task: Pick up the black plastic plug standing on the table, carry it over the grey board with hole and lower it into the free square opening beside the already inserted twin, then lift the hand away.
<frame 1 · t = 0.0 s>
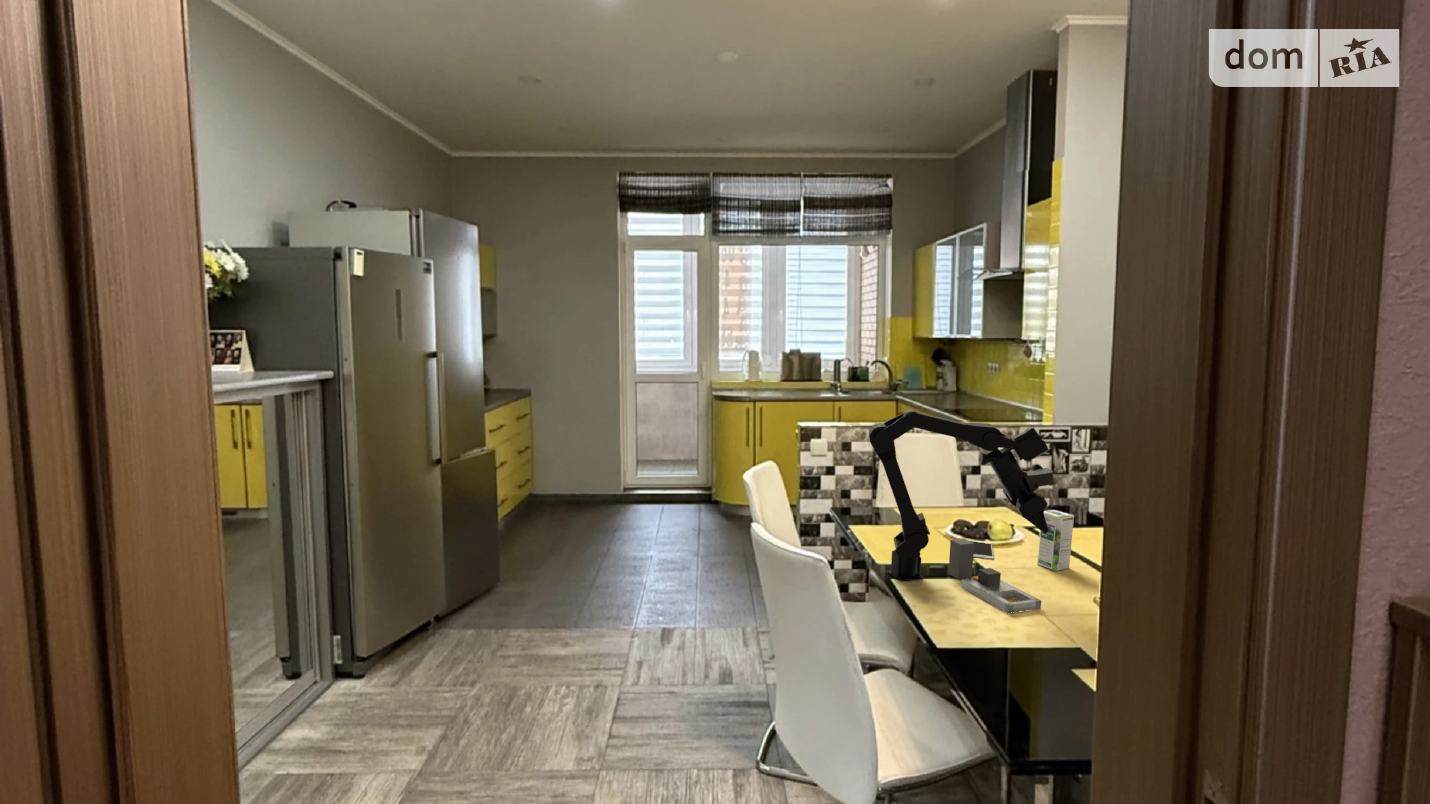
hand: (1041, 526, 177), 15 cm above the table, tool tilted 35°, fingers open, 9 cm apart
plug: (960, 576, 184), on the table
grey board with hole: (999, 597, 171), on the table
syrup box: (1053, 567, 193), on the table
smartphone: (978, 551, 205), on the table
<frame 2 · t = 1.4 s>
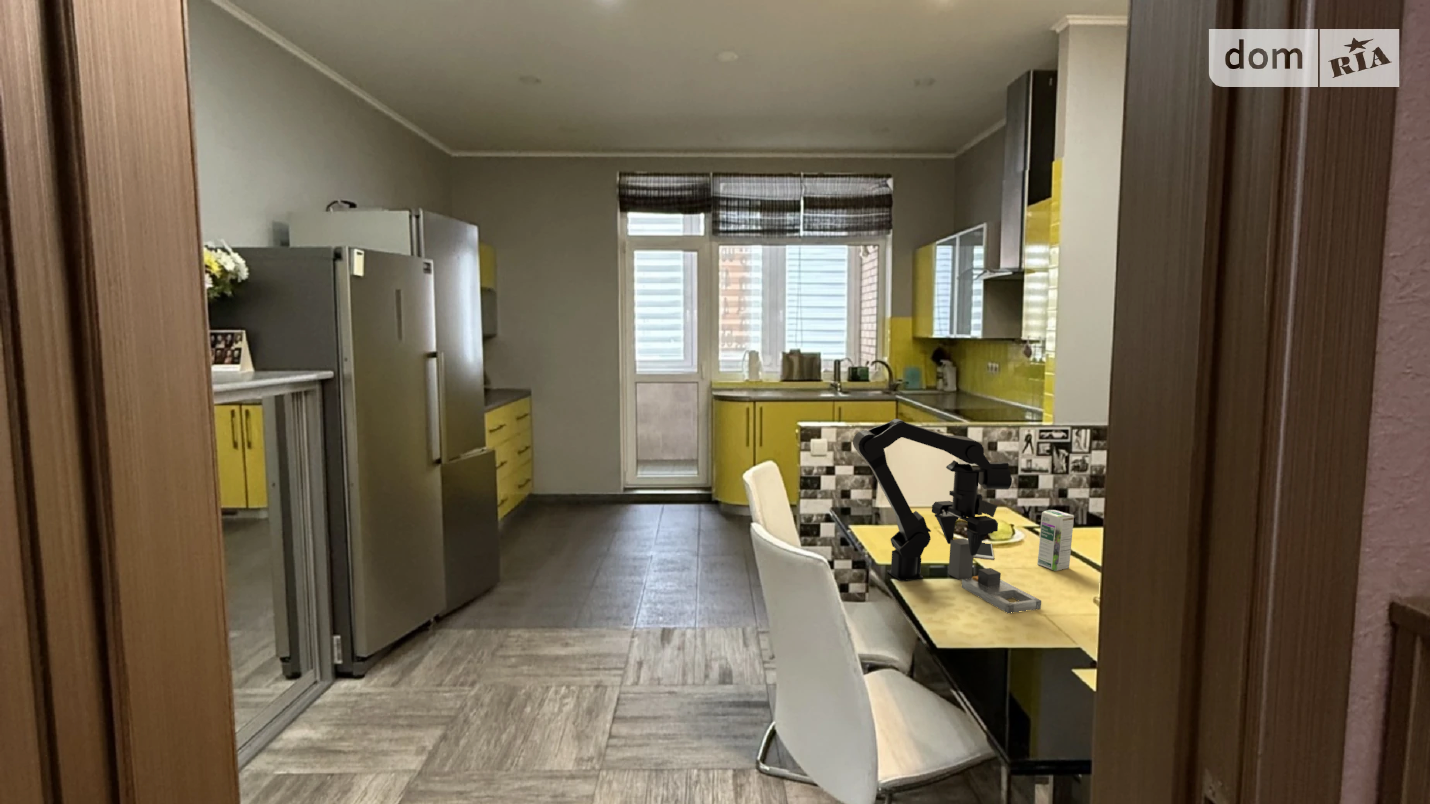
hand: (961, 549, 183), 7 cm above the table, tool pointing down, fingers open, 9 cm apart
nothing on the table moved.
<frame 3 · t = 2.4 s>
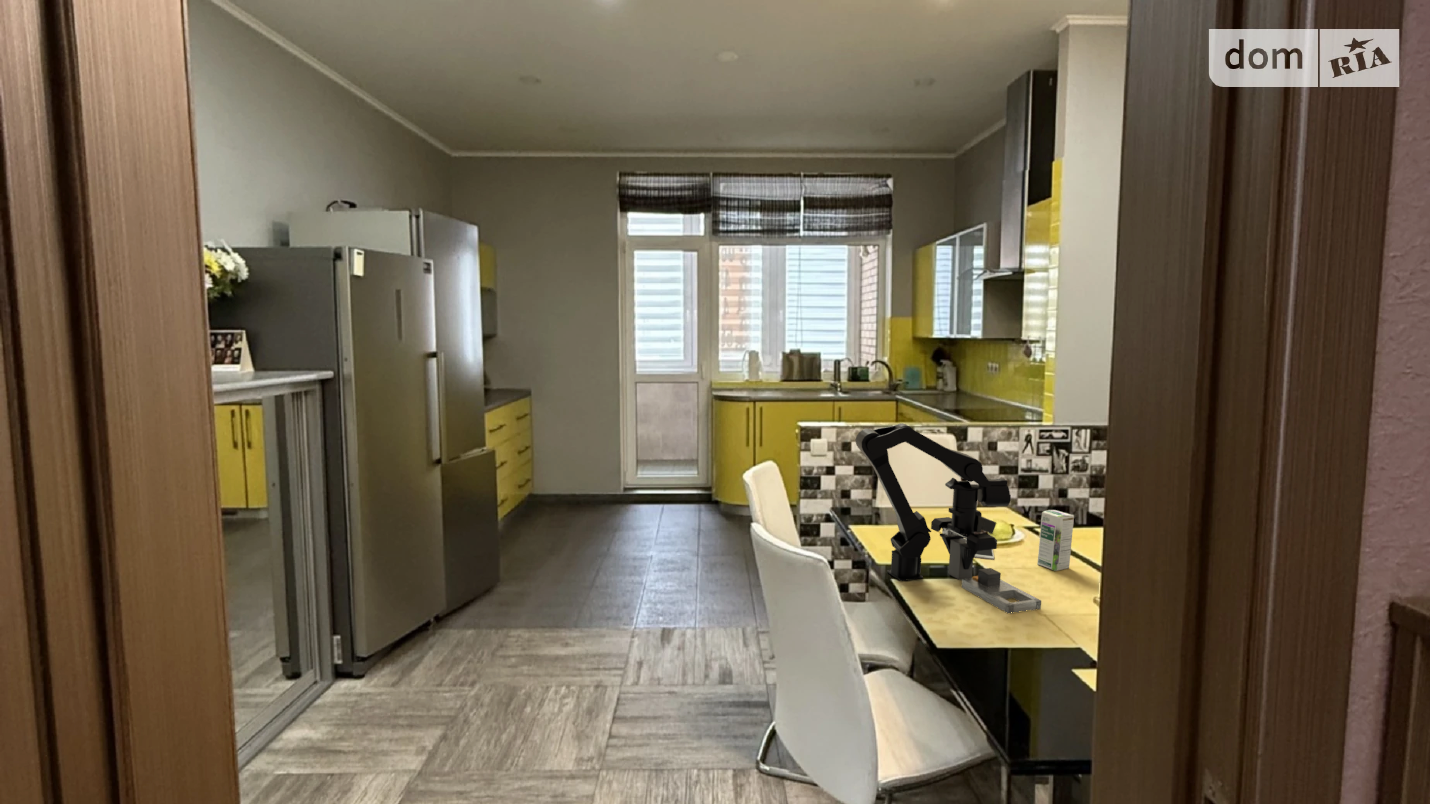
hand: (960, 566, 184), 3 cm above the table, tool pointing down, fingers closed on plug, 4 cm apart
plug: (960, 576, 184), on the table, touching gripper
everything else where it was.
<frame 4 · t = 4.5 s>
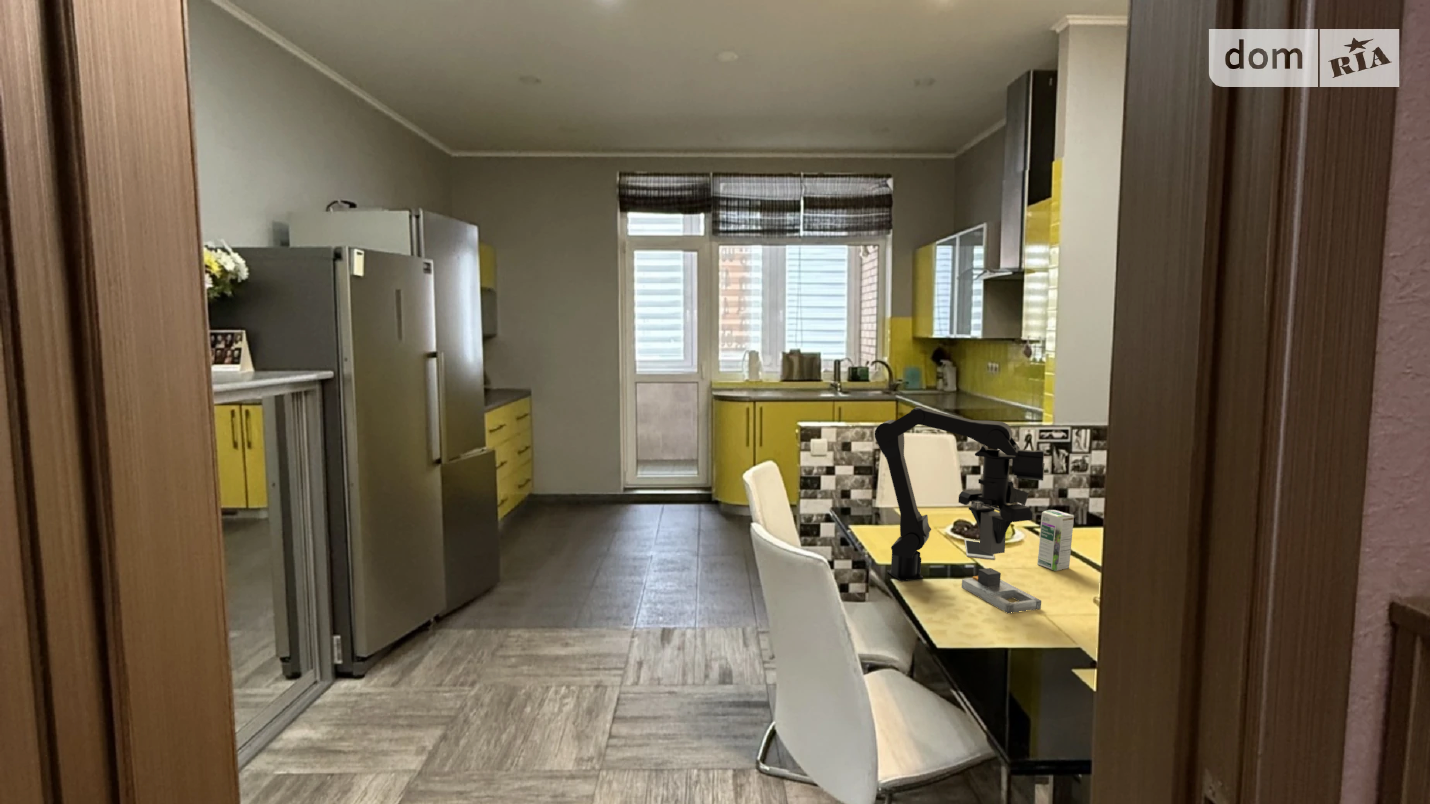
hand: (992, 540, 173), 12 cm above the table, tool pointing down, fingers closed on plug, 4 cm apart
plug: (991, 550, 174), point 10 cm above the table, touching gripper
everything else where it was.
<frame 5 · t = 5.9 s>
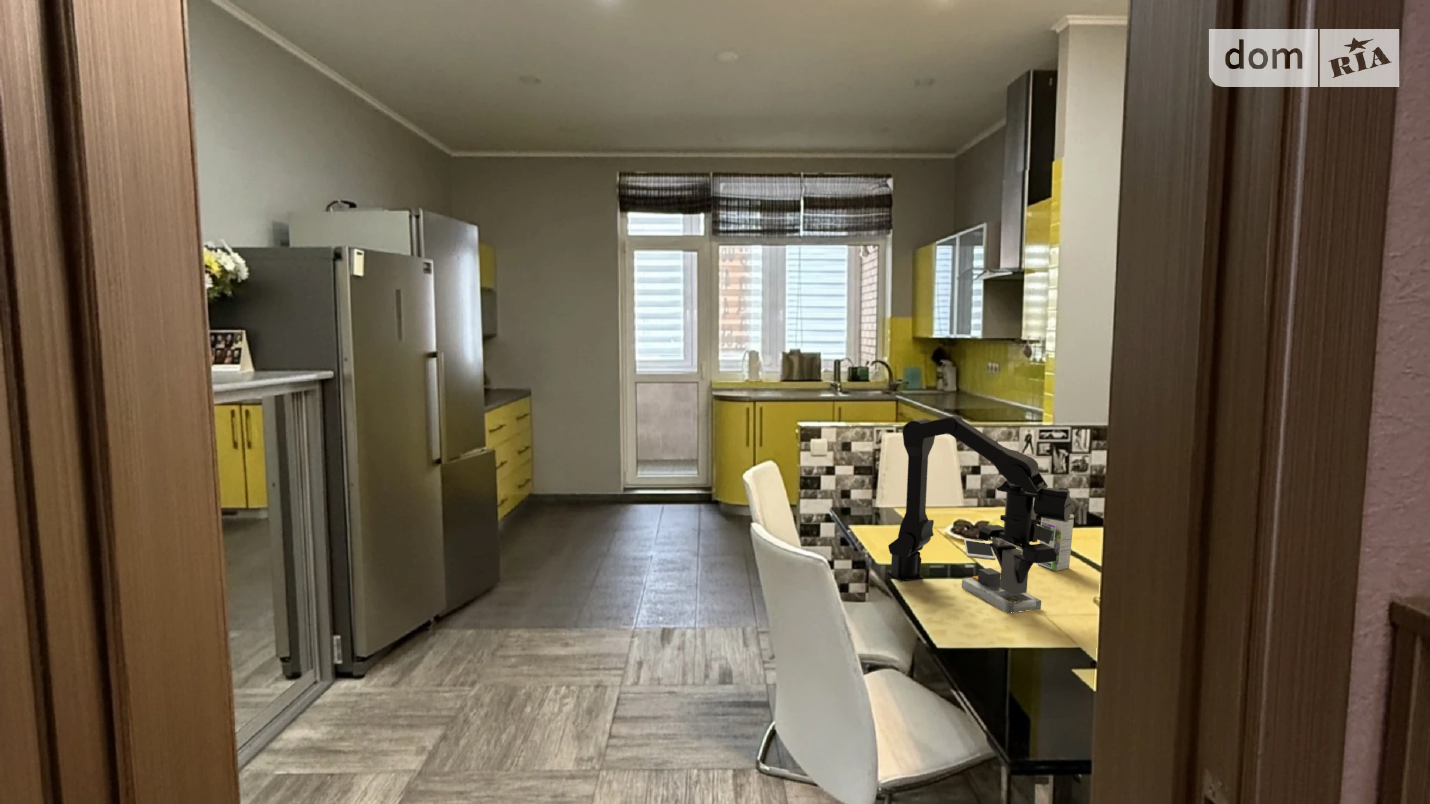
hand: (1013, 579, 166), 6 cm above the table, tool pointing down, fingers closed on plug, 4 cm apart
plug: (1013, 590, 167), point 3 cm above the table, touching gripper
everything else where it was.
when the fingers open (3 cm above the table, at t = 6.6 s): plug drops 1 cm, resting in grey board with hole.
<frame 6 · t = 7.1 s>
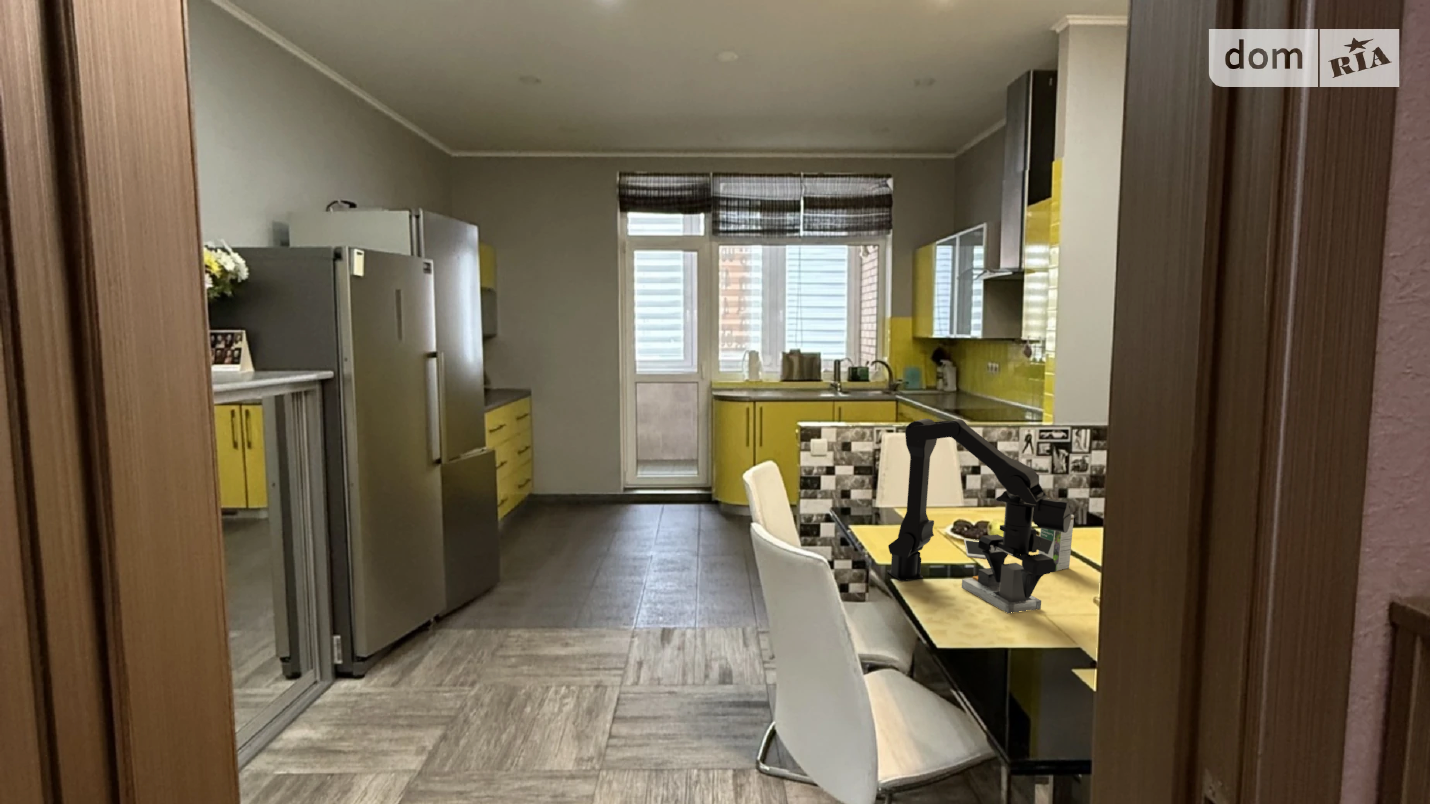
hand: (1012, 589, 166), 3 cm above the table, tool pointing down, fingers open, 9 cm apart
plug: (1012, 604, 167), resting in grey board with hole
everything else where it was.
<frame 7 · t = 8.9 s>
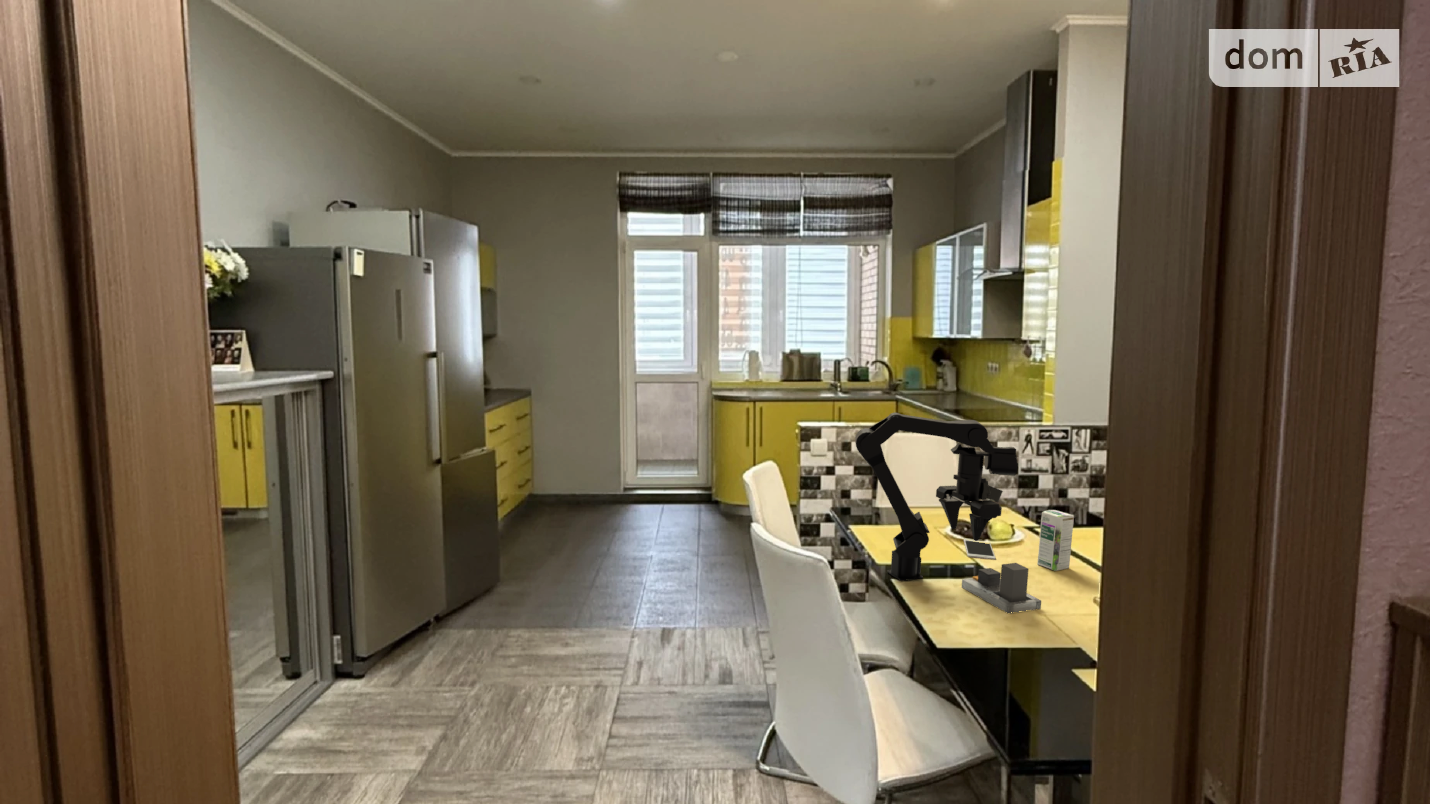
hand: (964, 534, 180), 12 cm above the table, tool pointing down, fingers open, 9 cm apart
nothing on the table moved.
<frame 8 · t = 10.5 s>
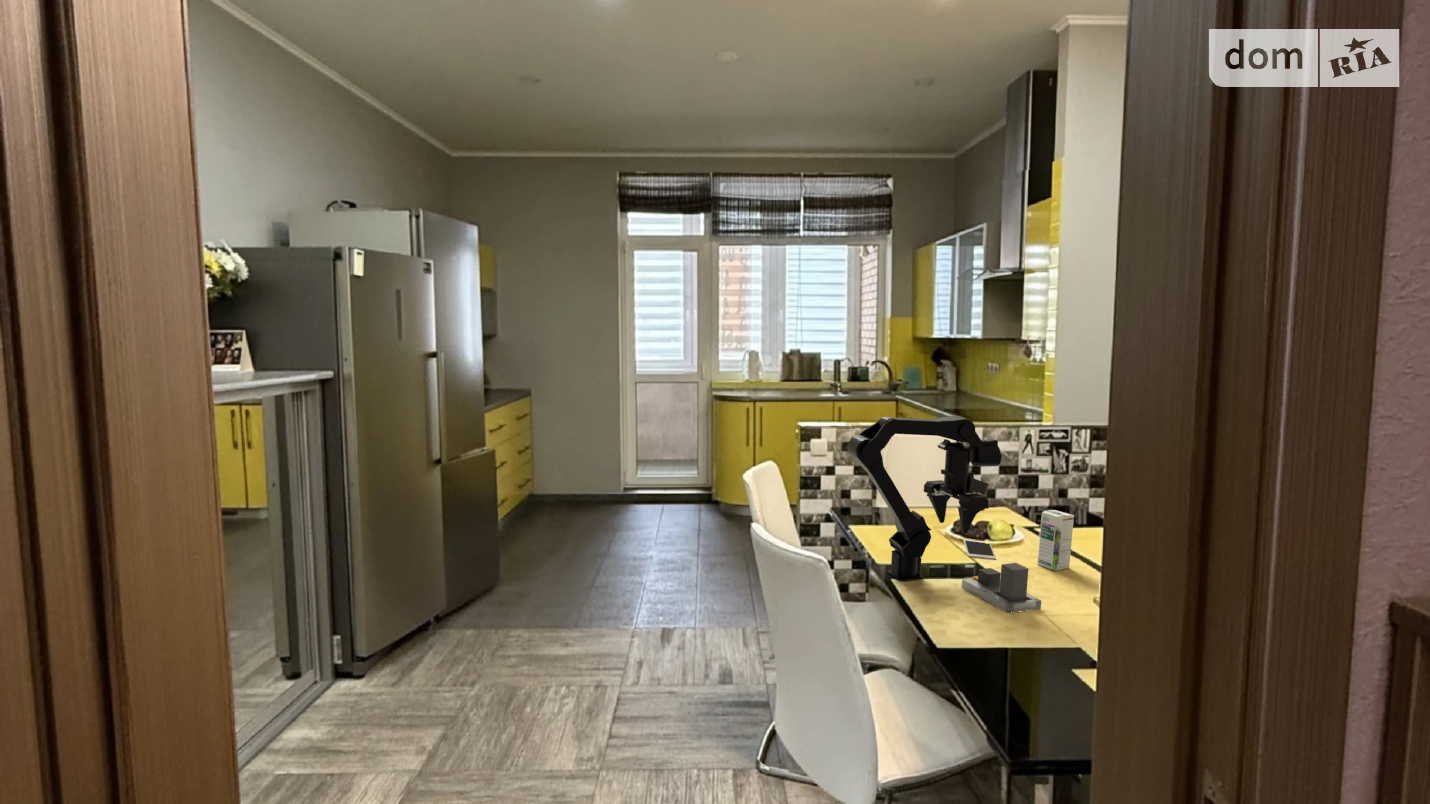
hand: (953, 527, 184), 12 cm above the table, tool pointing down, fingers open, 9 cm apart
nothing on the table moved.
at the end: plug 0.1 cm from the target spot on the grey board with hole, point 0.0 cm above the grey board with hole's base; plug tilted 0°; the gripper is holding nothing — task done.
